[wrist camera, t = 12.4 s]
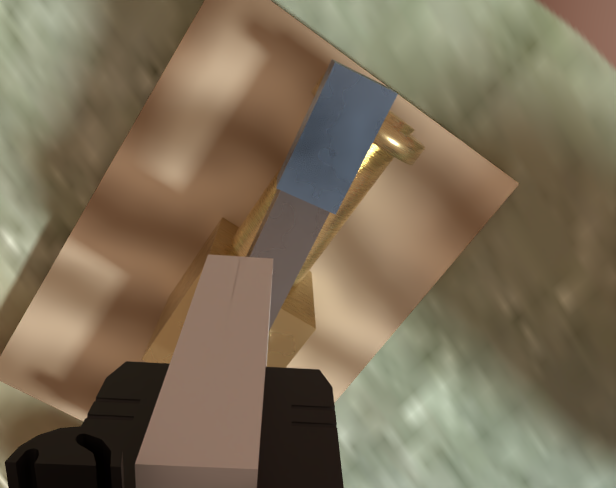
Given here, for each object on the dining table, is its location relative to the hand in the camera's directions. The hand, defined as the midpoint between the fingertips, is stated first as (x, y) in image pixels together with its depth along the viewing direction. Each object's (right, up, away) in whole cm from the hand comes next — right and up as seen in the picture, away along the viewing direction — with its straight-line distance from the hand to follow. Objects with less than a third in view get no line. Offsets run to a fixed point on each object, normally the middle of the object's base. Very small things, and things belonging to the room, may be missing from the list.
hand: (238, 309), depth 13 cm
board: (-3, -1, +27) cm, 27 cm away
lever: (0, +2, +16) cm, 16 cm away
